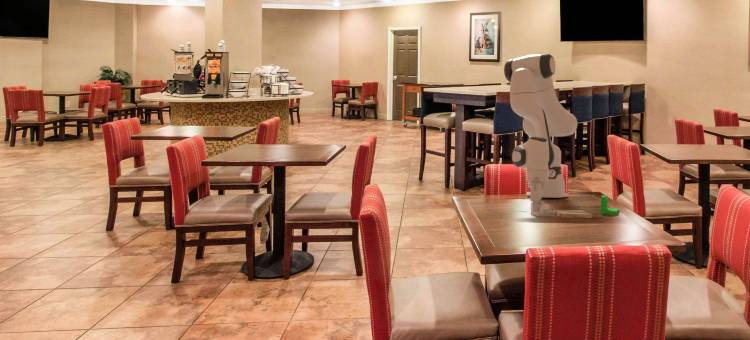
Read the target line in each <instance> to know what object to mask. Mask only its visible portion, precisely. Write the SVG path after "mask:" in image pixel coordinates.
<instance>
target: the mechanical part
mask: <svg viewBox="0 0 750 340" xmlns="http://www.w3.org/2000/svg"><path fill="white" fill-rule="evenodd" d="M608 206H609V197H608V195H603V194H602V195H601V197H600V213H599V214H602V215H603V214H604V215H609V216H616V215H618V213H619V211H620V208H615V207H608Z"/></svg>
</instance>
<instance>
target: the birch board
mask: <svg viewBox="0 0 750 340" xmlns="http://www.w3.org/2000/svg"><path fill="white" fill-rule="evenodd" d="M551 210H552V212H553V213H554V214H553V213H552V214H553V215H555V214H556V215H555V216H557V217H560V218H562V219H564V218H565V219H593V217H594V216H593V214H592V213H590V212H587V211H585V210H581V209H551Z"/></svg>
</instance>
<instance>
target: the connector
mask: <svg viewBox="0 0 750 340" xmlns="http://www.w3.org/2000/svg"><path fill="white" fill-rule="evenodd" d="M549 208H550V205H549V203H546V202H541V201H540V202H538V212H533V202H532V201H530V215H531V214H532V216H535V217H536V216H537V217H540V218H548V217H549V214H553V213H552V210H553V209H549Z"/></svg>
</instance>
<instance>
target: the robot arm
mask: <svg viewBox="0 0 750 340" xmlns="http://www.w3.org/2000/svg"><path fill="white" fill-rule="evenodd" d="M556 67H557V66H556V60H555V57H554V56H553V55H552V54H550V53H542V54H541V53H540V54H538V53H537V54H527V55H525V56H521V57H517V58H514V57H513V58H510V59H508V60H507V61H506V62H505V64H504V67H503V72H504V73H503V74H504V77H505V79H506V80H507V81H508V82H509V83H510V86H509V103H510V107H511V110H512V111H513V113H514V114H517V116H519V117H521V118H523V120H522V129H523V132H524V133H525V134H527V136H528V137H529V138H528V139H527V140H526V141H525V142H524V143H522V144H519V145H515V147H514V148H513V149H512V152H511V156H510V157H511V162H512V163H513V165H514V166H515V167H516V168H521V169H525V170H526V172H525V174H526V175H525V177H526V178H525V180H526V182H527V188H529V191H527V192H526V196H527V197H529V199H530V202H533V212H538V202H541V201H542V199H543V198H549V199H550V198H554V199H556V198H567V197H569V194H567V193H566V185H565V178H564V177H563V176H562V174H563V173H562V171H563V169H562V166H561V165H562V163H561V162H562V151H561V149H560V147H559V146H557V145H556V144H555V143H553V142H552V140H551V137H567V136H572V135H573V134H574V133H576V131H577V128H578V119H577V118H576V116H575V115H574V114H573V113H571V112H570V111H568V110H567V109H565V107H563V105H562V104H561V103H560V101H559V99H558V97H557V93H556V90H555V85H554V81H553V77H552V76H553V75H554V74H555V73H556Z"/></svg>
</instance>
